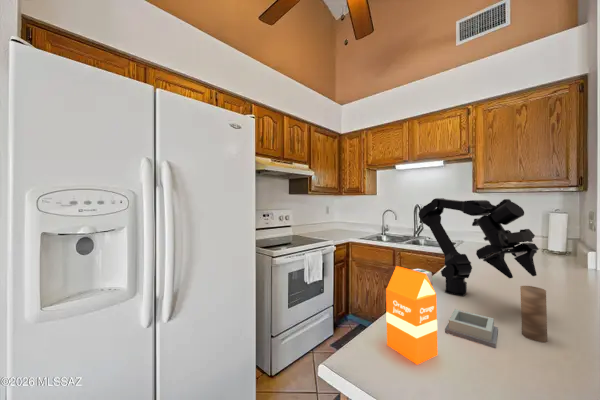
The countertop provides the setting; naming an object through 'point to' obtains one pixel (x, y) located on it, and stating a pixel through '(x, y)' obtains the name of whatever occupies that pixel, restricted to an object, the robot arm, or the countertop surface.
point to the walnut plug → (534, 313)
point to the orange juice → (411, 315)
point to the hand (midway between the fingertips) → (523, 276)
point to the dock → (473, 327)
